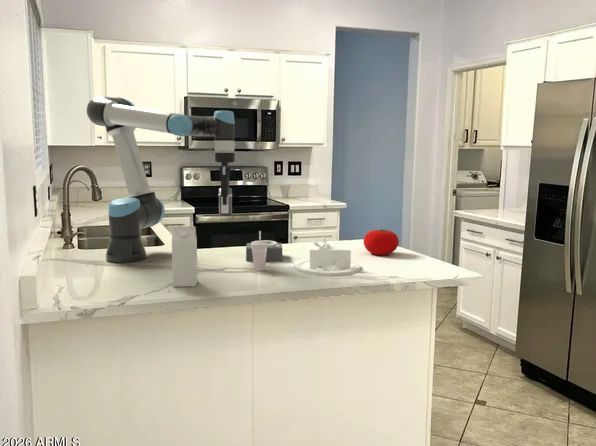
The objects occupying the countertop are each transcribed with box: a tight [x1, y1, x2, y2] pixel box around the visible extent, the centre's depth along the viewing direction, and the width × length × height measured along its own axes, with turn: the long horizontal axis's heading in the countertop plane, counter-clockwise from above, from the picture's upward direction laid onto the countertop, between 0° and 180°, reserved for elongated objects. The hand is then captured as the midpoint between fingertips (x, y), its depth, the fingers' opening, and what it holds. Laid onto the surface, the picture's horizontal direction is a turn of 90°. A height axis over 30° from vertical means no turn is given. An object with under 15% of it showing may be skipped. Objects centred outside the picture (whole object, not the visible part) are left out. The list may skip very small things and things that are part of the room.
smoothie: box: [251, 230, 268, 272], centre depth 201 cm, size 6×6×14 cm
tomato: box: [363, 229, 400, 256], centre depth 230 cm, size 14×13×10 cm
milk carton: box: [171, 225, 198, 288], centre depth 180 cm, size 7×7×19 cm
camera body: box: [245, 239, 283, 262], centre depth 221 cm, size 14×11×6 cm
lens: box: [218, 187, 233, 216], centre depth 216 cm, size 5×5×10 cm
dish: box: [292, 235, 361, 277], centre depth 205 cm, size 25×25×11 cm
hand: (225, 212), depth 217 cm, fingers closed on lens, 5 cm apart
